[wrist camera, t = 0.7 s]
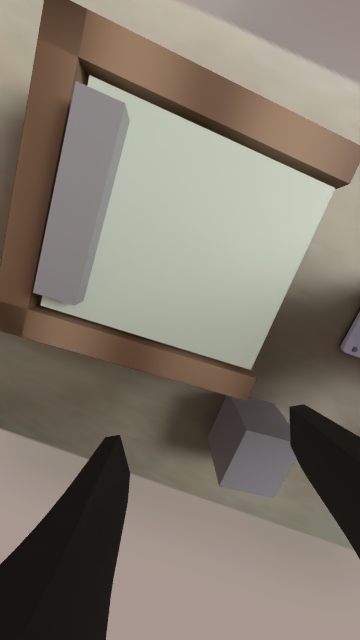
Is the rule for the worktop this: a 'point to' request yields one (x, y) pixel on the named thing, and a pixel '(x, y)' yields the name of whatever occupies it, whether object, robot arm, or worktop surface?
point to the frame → (169, 94)
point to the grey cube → (251, 446)
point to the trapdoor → (172, 228)
